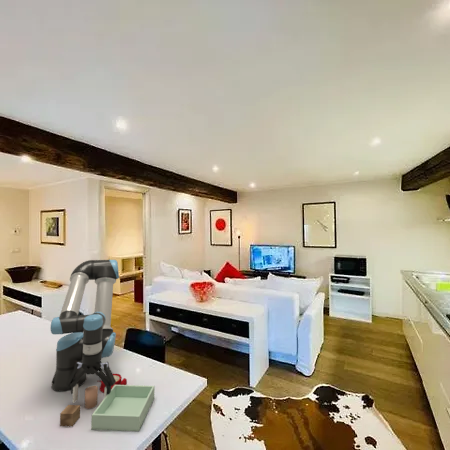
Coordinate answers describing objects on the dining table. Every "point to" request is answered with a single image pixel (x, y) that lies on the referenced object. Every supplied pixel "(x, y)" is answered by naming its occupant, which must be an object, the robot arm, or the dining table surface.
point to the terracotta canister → (91, 397)
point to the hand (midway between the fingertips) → (90, 401)
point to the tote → (123, 408)
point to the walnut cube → (70, 415)
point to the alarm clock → (118, 382)
